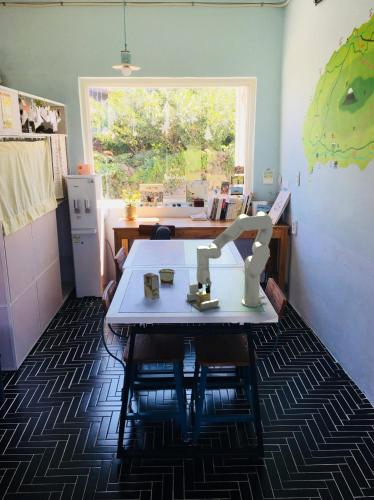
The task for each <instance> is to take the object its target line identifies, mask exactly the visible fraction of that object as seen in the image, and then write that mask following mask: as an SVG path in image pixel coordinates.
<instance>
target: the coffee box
mask: <svg viewBox="0 0 374 500" xmlns="http://www.w3.org/2000/svg"><path fill="white" fill-rule="evenodd" d="M142 276H143V277H142V278H143V291H144V298H146V299H149V300H150V301H151V300H152V301H155V300H157V299H160V282H159V279H160V276H159V274H155V273H152V272H149V273H145V274H143V275H142Z"/></svg>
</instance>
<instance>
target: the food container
mask: <svg viewBox="0 0 374 500" xmlns="http://www.w3.org/2000/svg"><path fill="white" fill-rule="evenodd" d="M175 274H176V272H175V270H174V269H172V268H162V269H159V270H158V275H159V279H160V284H162V285H173V284H174V277H175Z"/></svg>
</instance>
